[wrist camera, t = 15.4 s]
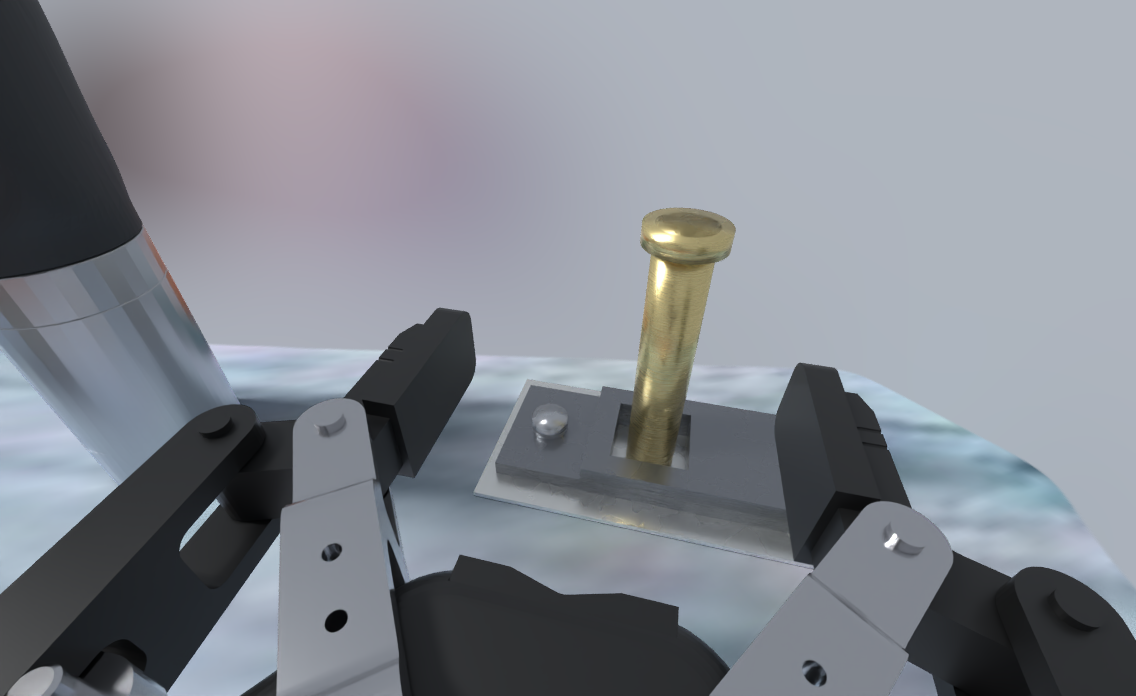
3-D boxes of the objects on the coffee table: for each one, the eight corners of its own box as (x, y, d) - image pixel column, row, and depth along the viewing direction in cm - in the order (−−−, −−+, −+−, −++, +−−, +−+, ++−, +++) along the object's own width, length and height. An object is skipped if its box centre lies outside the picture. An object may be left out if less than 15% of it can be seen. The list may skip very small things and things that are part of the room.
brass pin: (604, 449, 38) (623, 219, 27) (651, 424, 40) (687, 202, 29) (646, 493, 35) (689, 251, 23) (694, 463, 37) (755, 229, 26)
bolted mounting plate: (474, 495, 35) (468, 460, 33) (527, 382, 45) (525, 350, 43) (894, 586, 30) (922, 553, 28) (847, 436, 40) (864, 402, 38)
